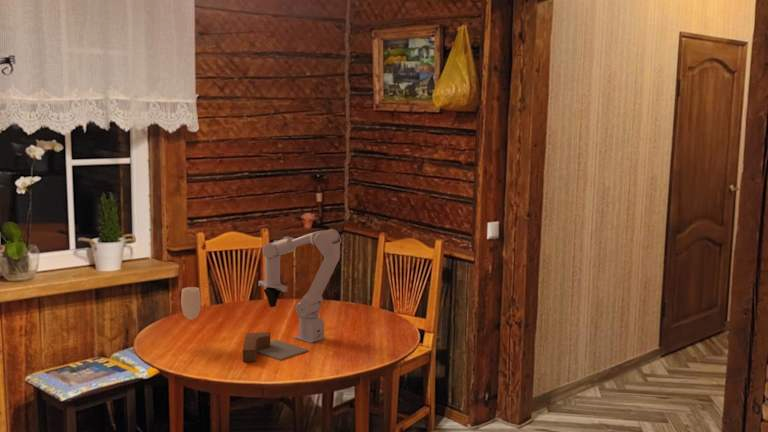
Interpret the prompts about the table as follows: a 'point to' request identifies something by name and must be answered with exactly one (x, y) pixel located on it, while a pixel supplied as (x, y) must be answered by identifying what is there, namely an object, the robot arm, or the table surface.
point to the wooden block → (254, 345)
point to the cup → (191, 302)
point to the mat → (281, 350)
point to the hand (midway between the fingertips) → (272, 306)
